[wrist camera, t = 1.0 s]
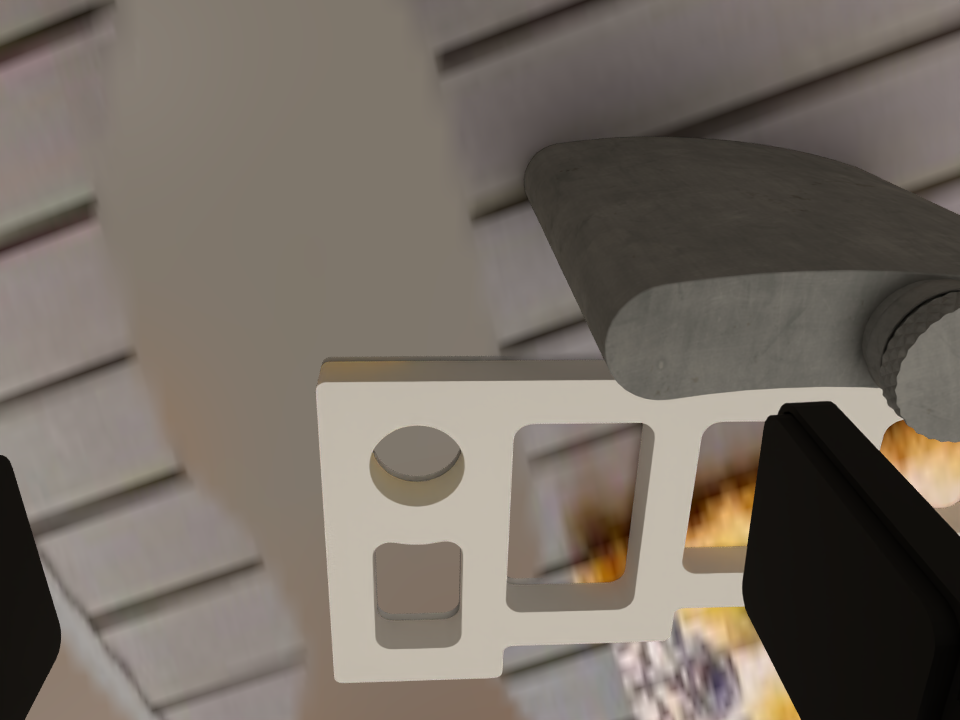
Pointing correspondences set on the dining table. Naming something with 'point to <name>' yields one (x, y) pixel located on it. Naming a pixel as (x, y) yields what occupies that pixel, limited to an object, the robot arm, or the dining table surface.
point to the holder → (486, 507)
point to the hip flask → (755, 271)
